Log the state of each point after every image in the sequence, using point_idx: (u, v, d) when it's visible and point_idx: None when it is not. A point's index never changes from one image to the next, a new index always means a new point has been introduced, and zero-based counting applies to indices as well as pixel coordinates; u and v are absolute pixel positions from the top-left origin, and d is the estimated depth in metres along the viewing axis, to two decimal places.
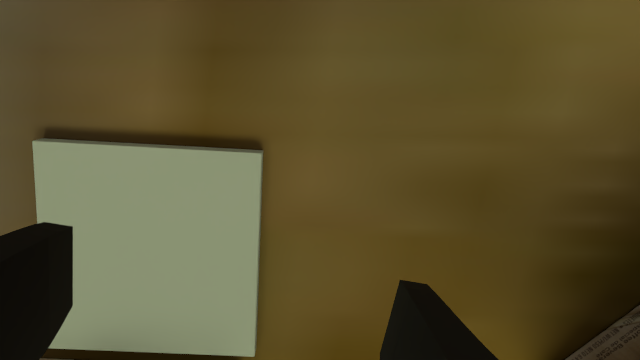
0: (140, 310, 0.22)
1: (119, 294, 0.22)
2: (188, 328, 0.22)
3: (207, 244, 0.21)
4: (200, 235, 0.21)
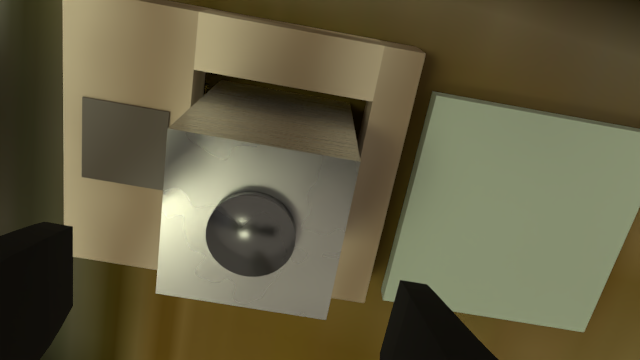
0: (458, 205, 0.20)
1: (480, 188, 0.20)
2: (427, 246, 0.21)
3: (511, 277, 0.21)
4: (522, 272, 0.21)
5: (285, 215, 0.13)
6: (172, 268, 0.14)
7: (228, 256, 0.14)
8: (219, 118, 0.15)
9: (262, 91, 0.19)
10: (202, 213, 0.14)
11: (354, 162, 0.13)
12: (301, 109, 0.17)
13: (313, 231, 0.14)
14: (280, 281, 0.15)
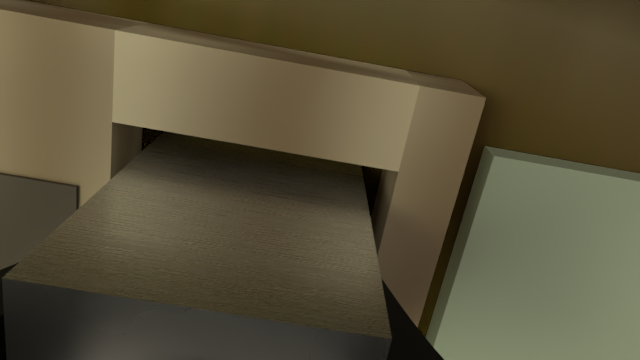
0: (519, 310, 0.14)
1: (554, 287, 0.13)
2: None
3: None
4: None
5: None
6: None
7: None
8: (129, 229, 0.08)
9: (226, 149, 0.12)
10: None
11: (380, 340, 0.07)
12: (284, 187, 0.11)
13: None
14: None
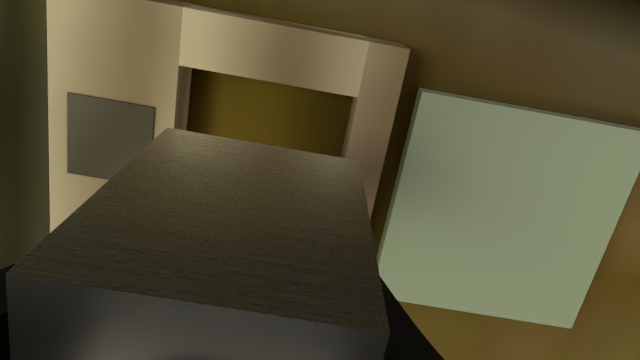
0: (444, 201, 0.20)
1: (467, 184, 0.20)
2: (414, 242, 0.21)
3: (498, 273, 0.21)
4: (509, 269, 0.21)
5: None
6: None
7: None
8: (130, 227, 0.08)
9: (226, 148, 0.12)
10: None
11: (378, 335, 0.07)
12: (284, 185, 0.11)
13: None
14: None
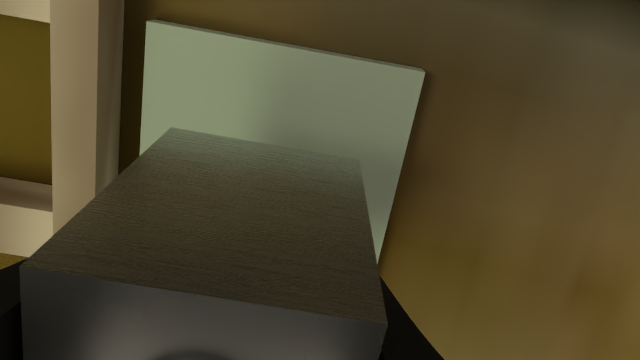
0: None
1: (218, 133, 0.17)
2: None
3: None
4: None
5: None
6: None
7: None
8: (137, 223, 0.08)
9: (229, 147, 0.13)
10: None
11: (376, 326, 0.07)
12: (285, 183, 0.11)
13: None
14: None
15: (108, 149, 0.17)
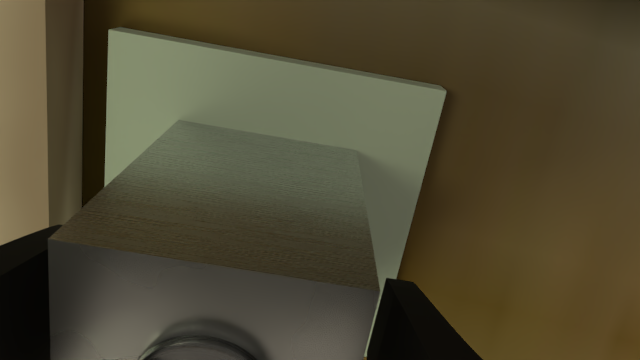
0: None
1: None
2: None
3: None
4: None
5: None
6: None
7: None
8: (151, 204, 0.09)
9: (233, 138, 0.13)
10: None
11: (370, 292, 0.08)
12: (287, 170, 0.12)
13: None
14: None
15: (66, 182, 0.15)
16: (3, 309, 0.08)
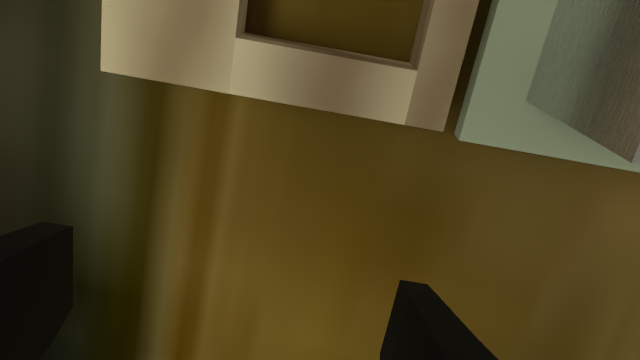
0: (552, 16, 0.18)
1: None
2: (513, 70, 0.18)
3: None
4: None
5: None
6: None
7: None
8: None
9: None
10: None
11: None
12: None
13: None
14: None
15: None
16: None
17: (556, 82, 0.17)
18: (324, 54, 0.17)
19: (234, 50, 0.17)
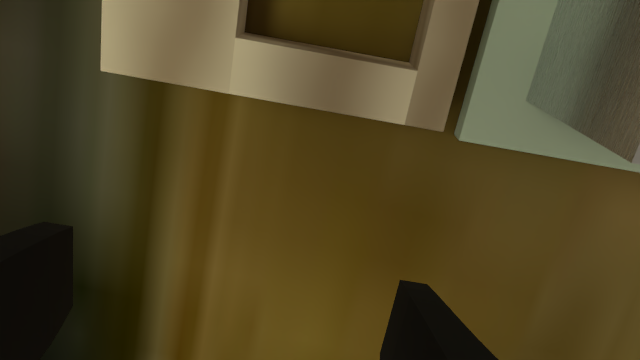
0: (552, 16, 0.18)
1: None
2: (513, 70, 0.18)
3: None
4: None
5: None
6: None
7: None
8: None
9: None
10: None
11: None
12: None
13: None
14: None
15: None
16: None
17: (556, 82, 0.17)
18: (324, 54, 0.17)
19: (234, 50, 0.17)
